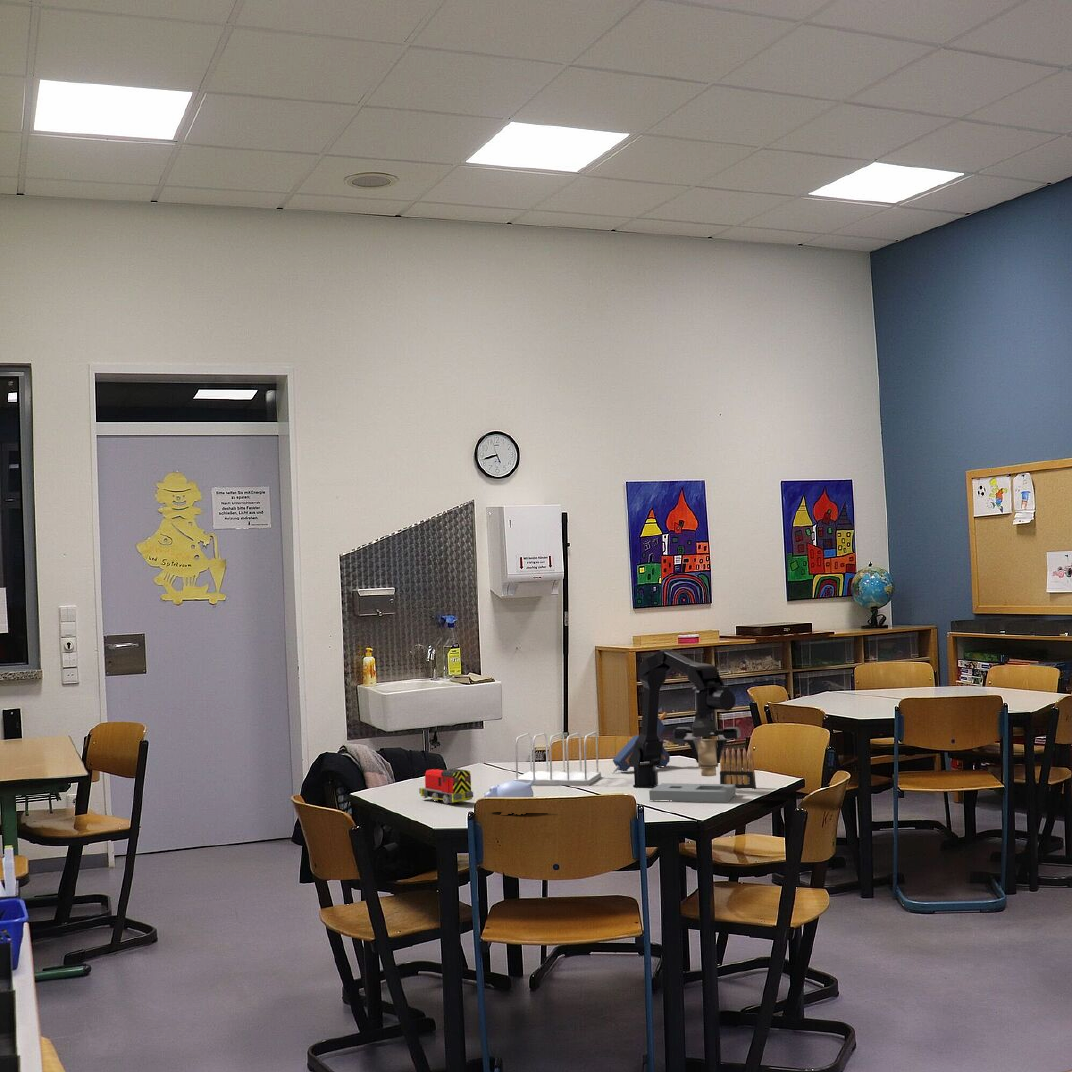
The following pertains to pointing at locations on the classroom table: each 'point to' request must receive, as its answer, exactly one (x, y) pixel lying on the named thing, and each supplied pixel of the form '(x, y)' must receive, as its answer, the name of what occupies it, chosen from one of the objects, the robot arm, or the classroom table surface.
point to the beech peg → (707, 756)
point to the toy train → (447, 785)
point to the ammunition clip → (737, 769)
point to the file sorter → (563, 777)
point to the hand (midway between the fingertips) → (708, 763)
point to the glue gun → (626, 752)
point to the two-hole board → (693, 792)
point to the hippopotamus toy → (511, 789)
